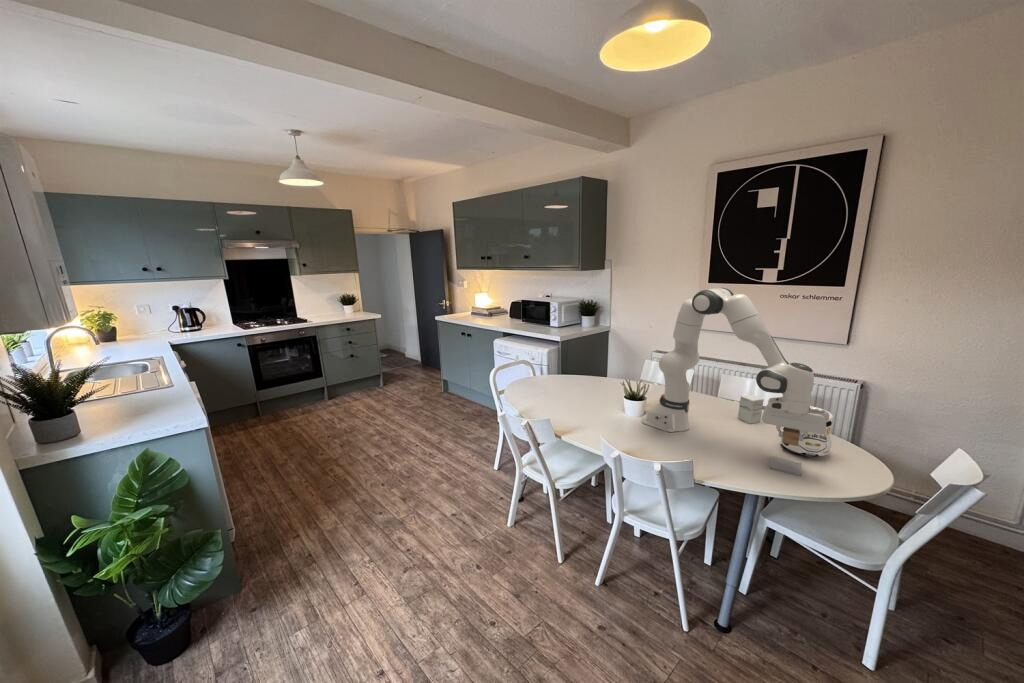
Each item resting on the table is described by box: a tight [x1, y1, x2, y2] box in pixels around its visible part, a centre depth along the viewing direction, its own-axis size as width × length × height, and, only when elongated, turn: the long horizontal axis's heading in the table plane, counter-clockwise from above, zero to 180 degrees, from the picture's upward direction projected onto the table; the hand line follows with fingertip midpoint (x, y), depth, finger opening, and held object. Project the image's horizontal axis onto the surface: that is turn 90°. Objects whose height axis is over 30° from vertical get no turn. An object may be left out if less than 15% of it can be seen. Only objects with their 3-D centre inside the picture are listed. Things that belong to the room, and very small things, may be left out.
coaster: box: [769, 455, 803, 477], centre depth 153 cm, size 10×10×1 cm
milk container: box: [780, 405, 834, 458], centre depth 164 cm, size 17×17×18 cm
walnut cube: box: [781, 427, 800, 446], centre depth 150 cm, size 5×5×5 cm
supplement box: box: [737, 393, 765, 425], centre depth 194 cm, size 7×7×13 cm
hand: (790, 438), depth 150 cm, fingers closed on walnut cube, 5 cm apart
